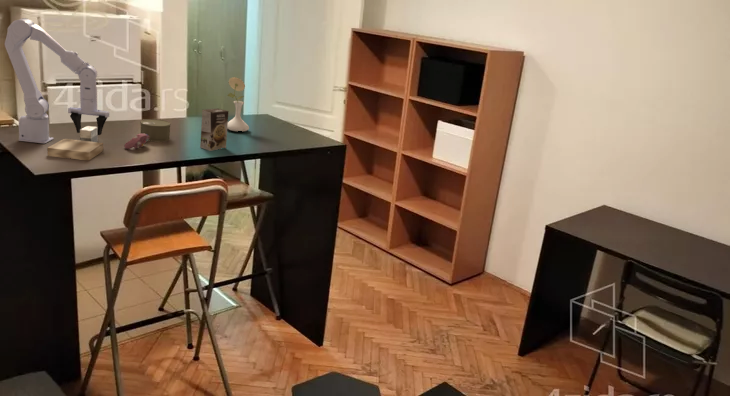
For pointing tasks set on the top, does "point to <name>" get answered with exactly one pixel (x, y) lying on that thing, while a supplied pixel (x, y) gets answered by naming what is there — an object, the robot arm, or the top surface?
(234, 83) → the flower in vase
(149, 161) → the top surface
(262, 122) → the top surface
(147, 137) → the pink toy
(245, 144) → the top surface
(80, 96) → the robot arm
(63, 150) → the birch stand
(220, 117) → the coffee box
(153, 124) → the can
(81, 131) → the two-plate housing
